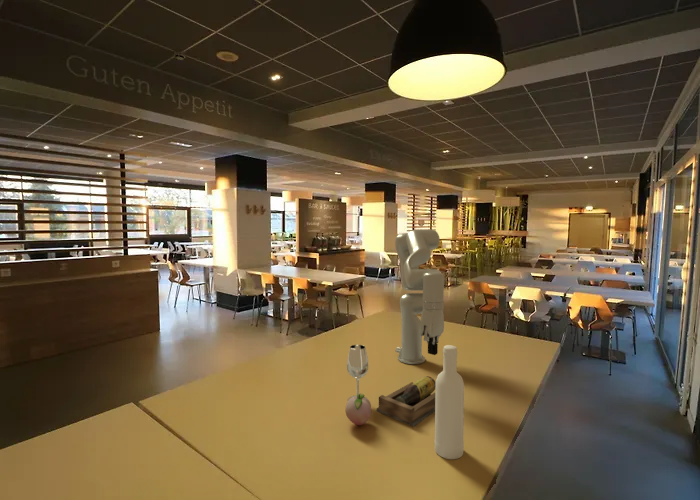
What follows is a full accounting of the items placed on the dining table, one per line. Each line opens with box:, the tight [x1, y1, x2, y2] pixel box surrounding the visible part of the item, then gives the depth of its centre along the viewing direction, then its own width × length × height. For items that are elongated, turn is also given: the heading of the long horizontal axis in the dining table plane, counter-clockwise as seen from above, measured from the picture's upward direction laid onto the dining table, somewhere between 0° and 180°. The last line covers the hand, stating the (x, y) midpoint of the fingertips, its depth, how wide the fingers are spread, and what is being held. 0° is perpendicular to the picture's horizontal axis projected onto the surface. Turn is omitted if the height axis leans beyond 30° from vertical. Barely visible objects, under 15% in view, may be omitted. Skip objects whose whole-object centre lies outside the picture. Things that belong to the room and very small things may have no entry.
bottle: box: [434, 344, 465, 460], centre depth 104 cm, size 8×8×30 cm
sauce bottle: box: [396, 375, 436, 405], centre depth 133 cm, size 7×6×20 cm
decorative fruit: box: [345, 392, 372, 426], centre depth 119 cm, size 9×8×10 cm
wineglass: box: [346, 344, 370, 402], centre depth 135 cm, size 8×8×20 cm
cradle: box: [375, 382, 435, 428], centre depth 131 cm, size 15×22×5 cm
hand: (432, 353), depth 139 cm, fingers closed
